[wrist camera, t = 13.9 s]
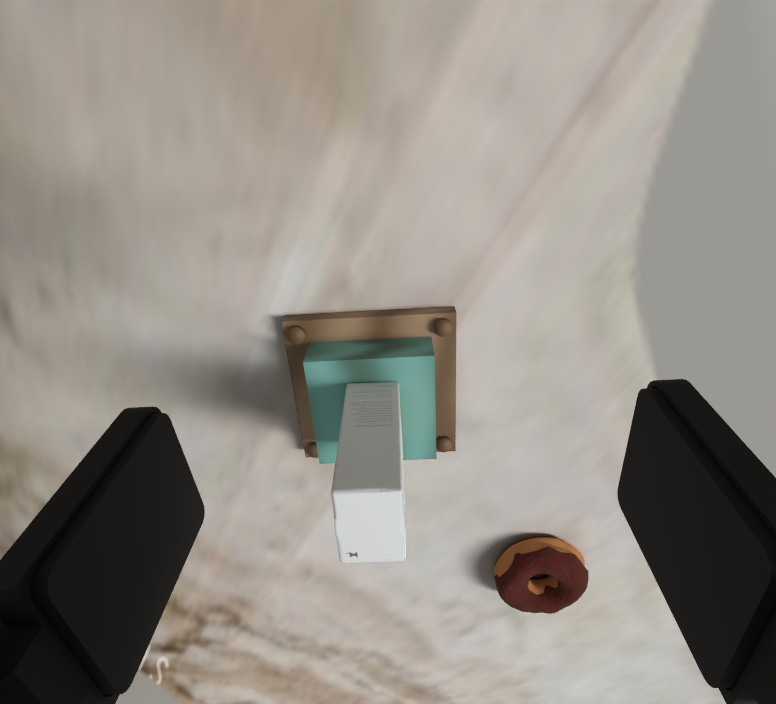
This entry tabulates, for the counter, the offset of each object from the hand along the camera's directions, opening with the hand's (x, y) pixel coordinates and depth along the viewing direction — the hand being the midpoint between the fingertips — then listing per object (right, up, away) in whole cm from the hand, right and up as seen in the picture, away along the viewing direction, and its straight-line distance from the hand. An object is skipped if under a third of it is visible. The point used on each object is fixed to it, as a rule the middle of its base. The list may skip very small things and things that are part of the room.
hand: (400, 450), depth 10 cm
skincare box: (-1, -3, +29) cm, 30 cm away
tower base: (-1, -1, +33) cm, 33 cm away
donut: (+16, -21, +45) cm, 52 cm away
